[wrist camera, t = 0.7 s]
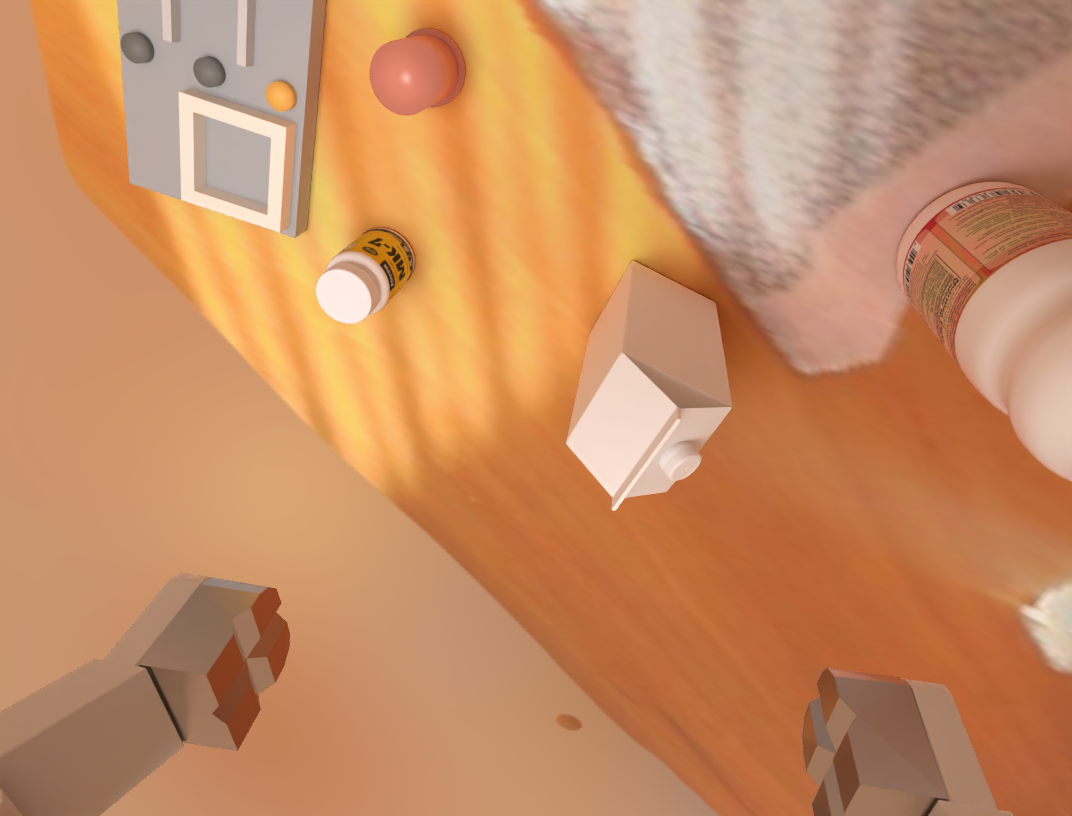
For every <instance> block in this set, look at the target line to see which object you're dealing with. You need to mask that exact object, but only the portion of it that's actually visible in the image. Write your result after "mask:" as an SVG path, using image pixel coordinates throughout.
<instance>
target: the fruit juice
mask: <svg viewBox="0 0 1072 816" xmlns="http://www.w3.org/2000/svg"><path fill="white" fill-rule="evenodd" d="M896 273H897V278H898V281H899V284H900V287H901V289H902V292H903V294H904V295H905V297H906V298H907V300H908V301H909V302H910V304H911V305H912V306H913V308H914V309H915V310H916V311H917V313H918V314H919V315H920V317H921V318H922V319H923V321H924V322H925V323H926V324H927V326H928V327H929V328H930V330H931V331H932V332H933V334H934V335H935V336H936V337H937V339H938V340H939V341H940V343H941V344H942V345H943V347H944V348H945V349H946V350H947V352H948V353H949V354H950V356H951V357H952V358H953V360H954V361H955V362H956V363H957V365H958V366H959V367H960V369H961V370H962V372H963V373H964V374H965V376H966V377H967V379H968V380H969V381H970V382H971V384H972V385H973V386H974V387H975V388H976V389H977V390H978V391H979V392H980V393H981V394H982V395H983V396H984V397H985V398H986V399H987V400H988V401H989V402H990V403H991V404H992V405H993V406H995V407H996V408H997V409H999V410H1000V411H1002V412H1003V413H1005V414H1007V415H1008V416H1009V418H1010V421H1011V424H1012V427H1013V429H1014V431H1015V433H1016V435H1017V437H1018V438H1019V440H1020V442H1021V443H1022V444H1023V445H1024V447H1025V448H1026V449H1027V450H1028V451H1029V452H1030V453H1031V454H1032V455H1033V456H1034V457H1035V458H1036V459H1037V460H1038V461H1039V462H1040V463H1041V464H1042V465H1044V466H1045V467H1046V468H1048V469H1049V470H1051V471H1052V472H1054V473H1055V474H1057V475H1059V476H1061V477H1062V478H1064V479H1067V480H1069V481H1071V482H1072V212H1070V211H1068V210H1067V209H1065V208H1063V207H1061V206H1059V205H1058V204H1056V203H1054V202H1052V201H1051V200H1049V199H1047V198H1045V197H1043V196H1042V195H1040V194H1038V193H1036V192H1035V191H1033V190H1031V189H1029V188H1026V187H1023V186H1020V185H1016V184H1012V183H1007V182H981V183H975V184H970V185H966V186H963V187H960V188H958V189H955V190H953V191H950V192H948V193H946V194H945V195H943V196H941V197H939V198H938V199H936V200H935V201H933V202H932V203H931V204H929V205H928V206H927V207H926V208H925V209H924V210H922V211H921V212H920V213H919V214H918V216H917V217H916V218H915V219H914V220H913V221H912V223H911V224H910V225H909V227H908V228H907V230H906V232H905V234H904V236H903V238H902V240H901V242H900V245H899V248H898V252H897V259H896Z"/></svg>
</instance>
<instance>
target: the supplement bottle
mask: <svg viewBox="0 0 1072 816" xmlns="http://www.w3.org/2000/svg"><path fill="white" fill-rule="evenodd" d="M414 265H415V259H414V254H413V251H412V249H411V247H410V245H409V243H408V242H407V241H406V240H405V239H404V238H403V237H402V236H401V235H400V234H398V233H397V232H395V231H393V230H391V229H387V228H374V229H371V230H368V231H367V232H365V233H364V234H362V235H361V236H360V237H359V238H357V239H356V240H355V241H354V242H352V243H351V244H350V245H348V246H347V247H346V248H345V249H343V250H342V251H341V252H340V253H338V254H337V255H336V256H335V257H334V258H333V259H332V260H331V261H330V262H329V264H328V266H327V268H326V271H325V272H324V273H323V274H322V275H321V277H320V278H319V280H318V282H317V286H316V295H317V299H318V302H319V304H320V306H321V307H322V309H323V310H324V311H325V312H326V313H327V314H328V315H329V316H330V317H331V318H333V319H335V320H337V321H339V322H342V323H349V324H352V323H357V322H360V321H362V320H364V319H365V318H366V317H367V316H368V315H371V314H374V313H376V312H378V311H379V310H381V309H382V308H383V307H384V306H385V305H386V304H387V303H388V302H389V300H390V299H391V298H392V297H393V296H394V295H395V294H396V293H397V292H398V290H399V289H400V288H401V287H402V286H403V285H404V284H405V283H406V282H407V280H408V279H409V278H410V276H411V275H412V273H413V270H414Z"/></svg>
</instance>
